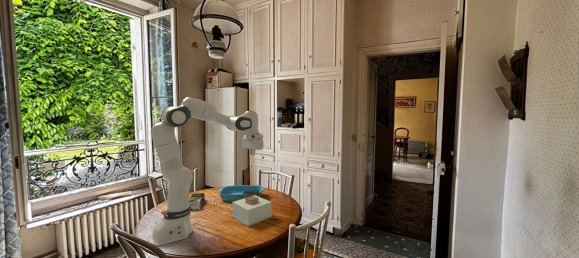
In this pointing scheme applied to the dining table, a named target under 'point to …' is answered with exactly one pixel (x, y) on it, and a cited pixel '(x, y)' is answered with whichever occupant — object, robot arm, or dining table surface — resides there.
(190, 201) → the juice carton
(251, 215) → the housing
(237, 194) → the casserole dish
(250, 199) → the plunger
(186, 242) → the dining table surface
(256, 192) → the small box
